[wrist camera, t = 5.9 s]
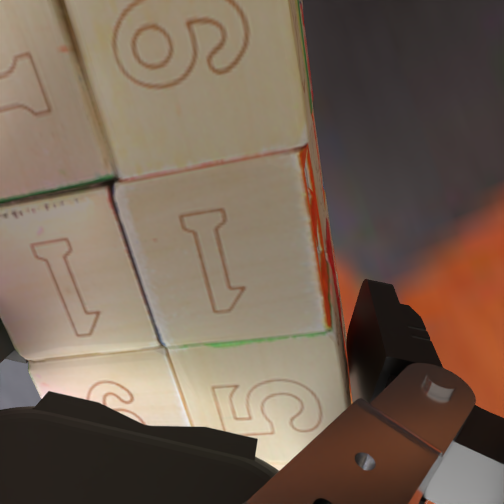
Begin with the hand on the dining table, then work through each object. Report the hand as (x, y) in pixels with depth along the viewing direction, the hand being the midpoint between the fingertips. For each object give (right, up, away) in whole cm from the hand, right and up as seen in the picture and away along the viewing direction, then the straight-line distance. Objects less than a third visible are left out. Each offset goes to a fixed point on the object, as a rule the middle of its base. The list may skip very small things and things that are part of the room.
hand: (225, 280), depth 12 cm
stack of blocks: (+1, +3, +7) cm, 8 cm away
